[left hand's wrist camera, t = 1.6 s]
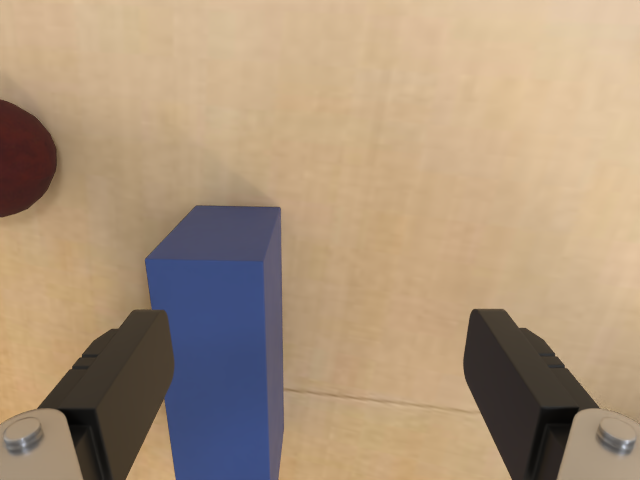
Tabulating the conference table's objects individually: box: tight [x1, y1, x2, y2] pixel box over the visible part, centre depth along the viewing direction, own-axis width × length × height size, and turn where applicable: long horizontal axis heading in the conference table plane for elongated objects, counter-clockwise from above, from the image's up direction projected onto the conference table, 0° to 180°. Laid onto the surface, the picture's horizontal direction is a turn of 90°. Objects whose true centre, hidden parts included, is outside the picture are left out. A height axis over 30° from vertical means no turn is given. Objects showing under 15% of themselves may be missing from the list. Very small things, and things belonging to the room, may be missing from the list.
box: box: [145, 206, 284, 480], centre depth 30 cm, size 21×6×10 cm, turn 179°
